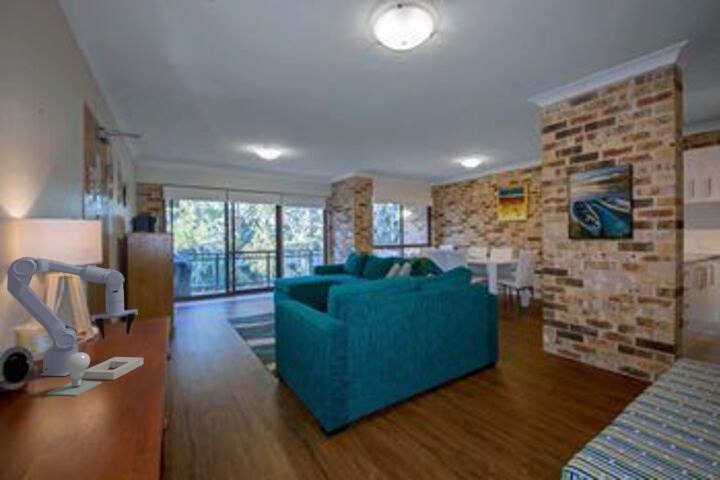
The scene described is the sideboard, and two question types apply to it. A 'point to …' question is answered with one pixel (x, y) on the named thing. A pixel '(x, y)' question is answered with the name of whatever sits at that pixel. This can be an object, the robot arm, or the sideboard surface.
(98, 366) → the bulb holder
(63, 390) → the mat
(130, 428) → the sideboard surface
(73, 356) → the lightbulb
